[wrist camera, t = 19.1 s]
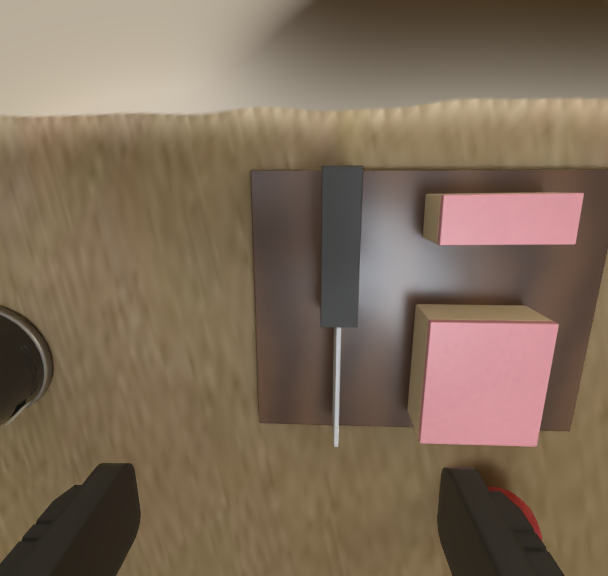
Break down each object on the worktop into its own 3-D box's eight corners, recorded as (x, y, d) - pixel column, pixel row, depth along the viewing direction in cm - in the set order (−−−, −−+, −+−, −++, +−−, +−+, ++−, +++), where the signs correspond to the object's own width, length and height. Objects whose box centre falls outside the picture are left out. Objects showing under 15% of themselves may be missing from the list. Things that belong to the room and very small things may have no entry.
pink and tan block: (422, 237, 27) (439, 245, 23) (425, 193, 26) (443, 194, 22) (538, 236, 26) (576, 244, 22) (544, 192, 25) (584, 192, 22)
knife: (321, 169, 26) (322, 165, 22) (357, 169, 26) (363, 165, 22) (319, 414, 31) (319, 446, 27) (349, 414, 30) (353, 447, 27)
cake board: (260, 416, 32) (258, 423, 31) (252, 170, 27) (250, 169, 26) (562, 424, 31) (570, 431, 30) (613, 170, 26) (624, 169, 25)
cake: (407, 411, 30) (419, 443, 26) (415, 303, 28) (430, 322, 24) (509, 413, 30) (537, 447, 26) (525, 305, 28) (559, 324, 24)
